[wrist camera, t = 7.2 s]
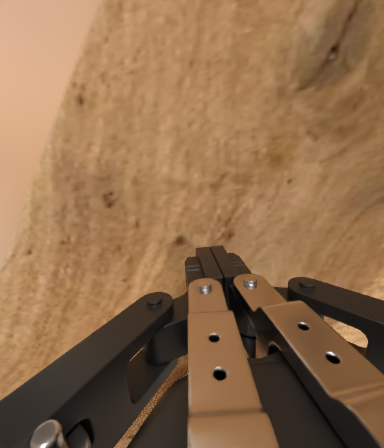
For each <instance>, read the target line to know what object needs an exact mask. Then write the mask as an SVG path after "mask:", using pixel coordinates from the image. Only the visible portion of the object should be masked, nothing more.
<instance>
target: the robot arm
mask: <svg viewBox="0 0 384 448" xmlns="http://www.w3.org/2000/svg"><path fill="white" fill-rule="evenodd" d="M185 272H186V285H187V292H186V293H185V294H184V295H182V296H180V297H178V298H176V299H172V297H171V296H170V295H169V294H167V293H163V292H154V293H150V294H147V295H145V296H143V297H141V298H140V299H139V300H137V301H136V302H135V303H133V304H132V305H130V306H129V307H128V308H126V309H125V310H124V311H122V312H121V313H120V314H118V315H117V316H115V317H114V318H113V319H111V320H110V321H109V322H107V323H106V324H105V325H103V326H102V327H100V328H99V329H98V330H96V331H95V332H94V333H92V334H91V335H90V336H88V337H87V338H85V339H84V340H83V341H81V342H80V343H79V344H77V345H76V346H75V347H73V348H72V349H70V350H69V351H68V352H66V353H65V354H64V355H62V356H61V357H60V358H58V359H57V360H56V361H54V362H53V363H51V364H50V365H49V366H47V367H46V368H45V369H43V370H42V371H41V372H39V373H38V374H36V375H35V376H34V377H32V378H31V379H30V380H28V381H27V382H26V383H24V384H23V385H21V386H20V387H19V388H17V389H16V390H15V391H13V392H12V393H11V394H9V395H8V396H6V397H5V398H4V399H2V400H1V401H0V448H114V447H115V445H116V444H117V443H118V441H119V440H120V439H121V438H122V436H123V435H124V434H125V432H126V431H127V430H128V428H129V427H130V426H131V425H132V423H133V422H134V421H135V419H136V418H137V417H138V415H139V414H140V413H141V411H142V410H143V409H144V408H145V406H146V405H147V404H148V402H149V401H150V400H151V398H152V397H153V396H154V395H155V393H156V392H157V391H158V389H159V388H160V387H161V385H162V384H163V383H164V382H165V380H166V379H167V378H168V376H169V375H170V374H171V372H172V371H173V370H174V368H175V367H176V366H177V363H178V358H179V357H181V356H183V355H186V354H188V374H187V375H186V376H184V377H182V378H181V379H179V380H178V381H176V382H175V383H174V384H173V385H172V386H171V387H170V388H169V389H168V390H167V391H166V392H165V393H164V394H163V396H162V397H161V398H160V400H159V401H158V403H157V404H156V406H155V407H154V409H153V410H152V411H151V413H150V414H149V416H148V417H147V419H146V420H145V422H144V423H143V425H142V426H141V428H140V429H139V430H138V432H137V433H136V435H135V436H134V438H133V439H132V441H131V442H130V444H129V445H128V447H127V448H384V301H383V300H380V299H376V298H373V297H370V296H367V295H363V294H360V293H357V292H354V291H350V290H347V289H344V288H341V287H337V286H334V285H331V284H328V283H324V282H321V281H318V280H315V279H311V278H306V277H296V278H292V279H290V280H289V282H288V288H282V287H272V286H271V285H270V284H269V283H268V282H267V281H266V280H265V279H264V278H263V277H261V276H259V275H255V274H252V273H251V272H250V270H249V269H248V268H247V266H246V265H245V264H244V262H243V261H242V259H241V258H240V257H239V256H238V255H236V254H234V253H227V252H226V250H225V249H224V247H223V246H212V247H202V248H196V257H188V258H187V259H186V261H185ZM324 315H325V316H327V317H330V318H332V319H335V320H337V321H340V322H342V323H345V324H347V325H350V326H352V327H355V328H357V329H359V330H360V331H362V332H363V333H364V334H365V335H366V337H367V339H368V346H367V348H363V347H359V346H357V345H355V344H353V343H350V342H348V341H346V340H345V339H344V338H343V337H342V336H341V335H340V334H338V333H337V332H336V331H335V330H334V329H333V328H332V327H331V326H330V325H329V324H327V323H326V322H325V321H324ZM142 347H143V349H142V350H141V351H140V352H139V353H138V354H137V355H136V356H135V357H134V358H133V359H132V360H131V358H132V357H133V356H134V355H135V354H136V353H137V352H138V351H139V350H140V349H141V348H142ZM130 360H131V361H130ZM129 361H130V362H129Z"/></svg>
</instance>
